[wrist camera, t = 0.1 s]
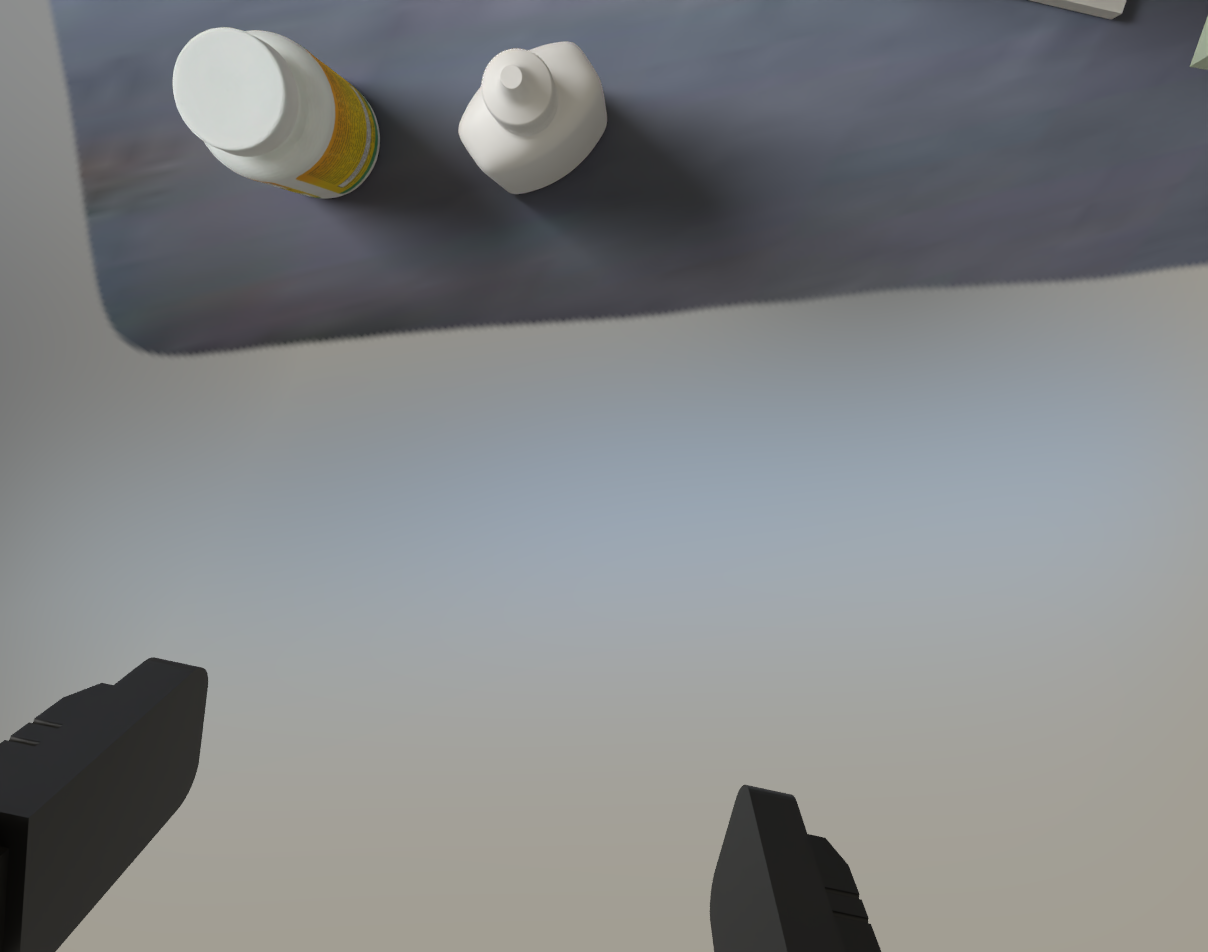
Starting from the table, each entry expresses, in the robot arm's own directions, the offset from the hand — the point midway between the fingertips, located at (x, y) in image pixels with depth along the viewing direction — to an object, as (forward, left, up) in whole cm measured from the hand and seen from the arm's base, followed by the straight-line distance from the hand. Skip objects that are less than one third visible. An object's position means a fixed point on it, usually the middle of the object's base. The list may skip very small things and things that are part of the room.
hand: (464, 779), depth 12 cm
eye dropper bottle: (-13, -4, -29) cm, 32 cm away
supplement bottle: (-11, -14, -29) cm, 34 cm away
